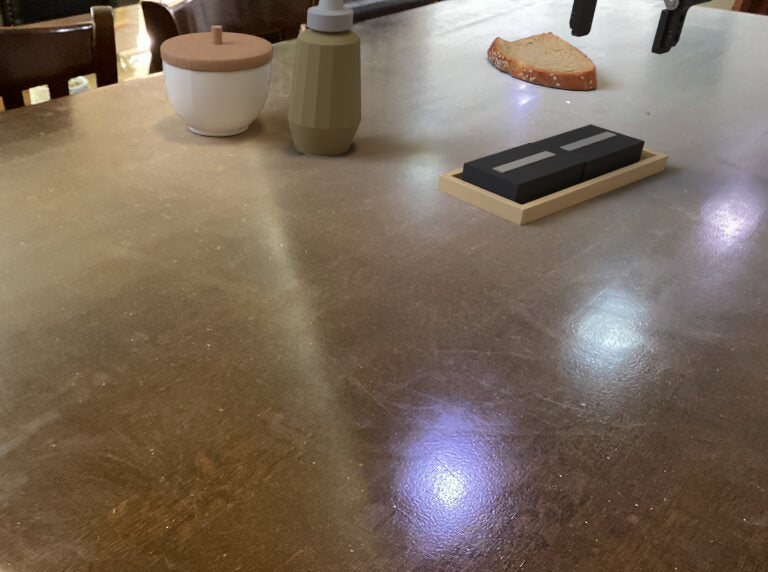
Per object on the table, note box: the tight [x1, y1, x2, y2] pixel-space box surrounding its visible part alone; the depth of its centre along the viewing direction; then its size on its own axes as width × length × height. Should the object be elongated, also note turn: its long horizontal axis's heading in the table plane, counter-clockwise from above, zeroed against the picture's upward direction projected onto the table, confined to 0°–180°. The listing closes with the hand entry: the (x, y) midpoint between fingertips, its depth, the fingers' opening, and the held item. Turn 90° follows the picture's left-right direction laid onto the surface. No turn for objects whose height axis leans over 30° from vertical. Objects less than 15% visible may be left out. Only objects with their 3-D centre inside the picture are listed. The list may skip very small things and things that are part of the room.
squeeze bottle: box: [286, 0, 362, 157], centre depth 85 cm, size 8×8×18 cm
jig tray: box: [437, 147, 670, 226], centre depth 82 cm, size 24×10×2 cm, turn 127°
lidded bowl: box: [159, 25, 274, 137], centre depth 93 cm, size 13×13×11 cm
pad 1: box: [461, 142, 585, 205], centre depth 79 cm, size 10×6×3 cm, turn 127°
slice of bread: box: [486, 31, 598, 91], centre depth 117 cm, size 18×18×4 cm
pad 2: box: [532, 123, 646, 184], centre depth 84 cm, size 10×6×3 cm, turn 127°
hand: (618, 43), depth 77 cm, fingers open, 8 cm apart
